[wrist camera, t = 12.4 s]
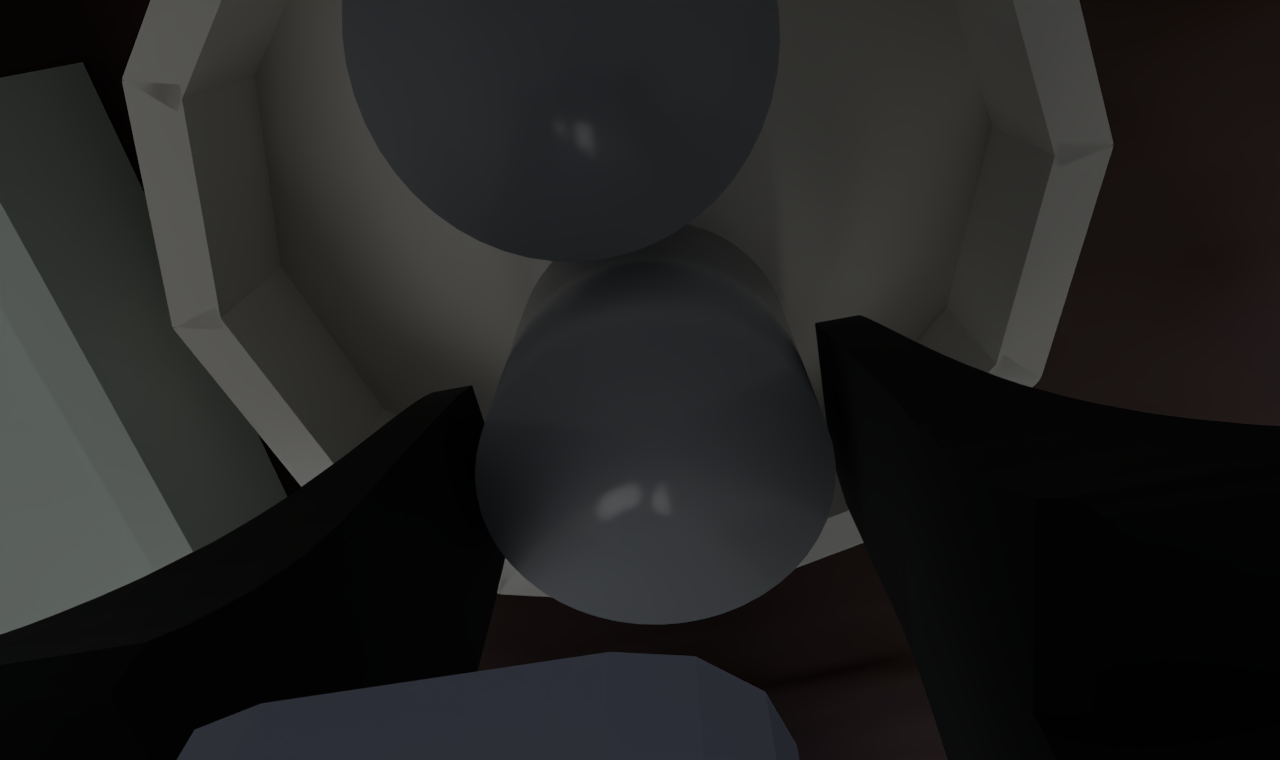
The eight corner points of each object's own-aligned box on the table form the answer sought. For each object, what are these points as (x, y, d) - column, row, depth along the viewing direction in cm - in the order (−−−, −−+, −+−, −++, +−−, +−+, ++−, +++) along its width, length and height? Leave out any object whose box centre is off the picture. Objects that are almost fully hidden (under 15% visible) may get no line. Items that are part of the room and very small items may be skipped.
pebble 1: (802, -19, 12) (871, -9, 8) (626, 232, 13) (620, 332, 10) (533, -236, 11) (479, -333, 7) (378, 67, 12) (270, 112, 9)
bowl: (1173, 75, 13) (1308, 106, 10) (708, 590, 18) (720, 703, 15) (470, -532, 10) (408, -708, 7) (133, 284, 15) (20, 357, 12)
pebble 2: (842, 320, 14) (912, 451, 10) (681, 504, 15) (691, 672, 12) (617, 162, 12) (606, 246, 9) (470, 378, 14) (410, 522, 11)
